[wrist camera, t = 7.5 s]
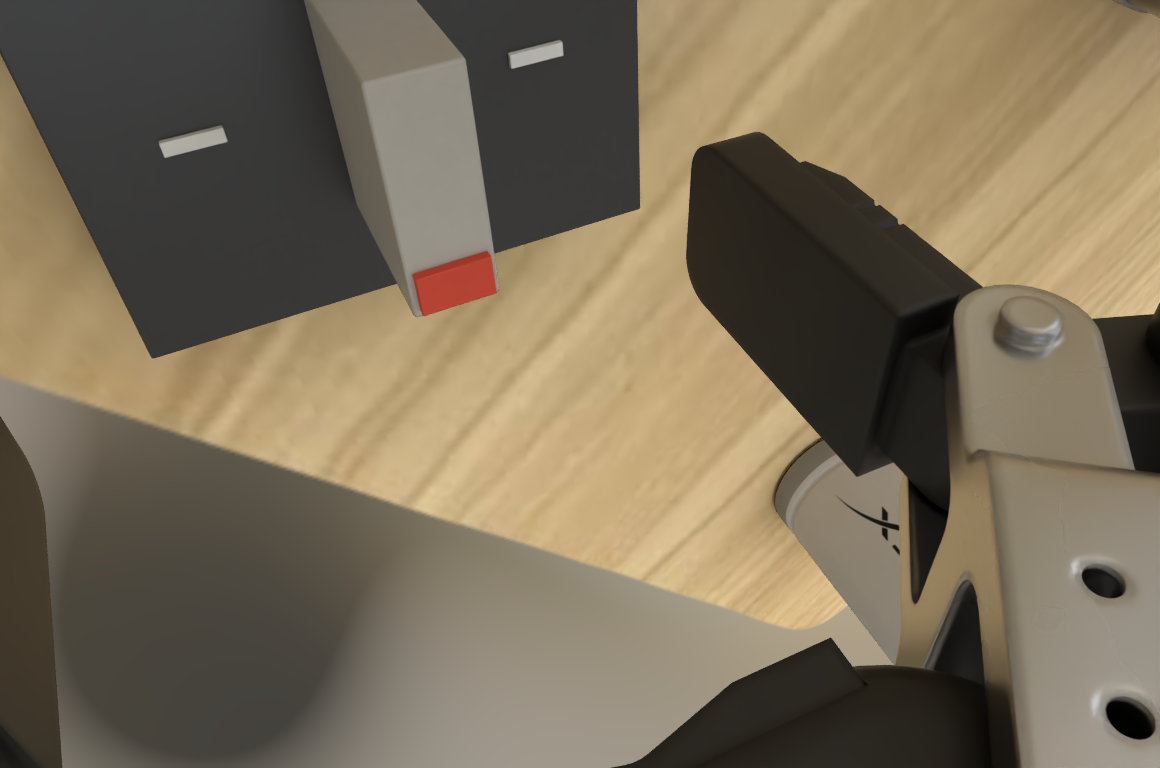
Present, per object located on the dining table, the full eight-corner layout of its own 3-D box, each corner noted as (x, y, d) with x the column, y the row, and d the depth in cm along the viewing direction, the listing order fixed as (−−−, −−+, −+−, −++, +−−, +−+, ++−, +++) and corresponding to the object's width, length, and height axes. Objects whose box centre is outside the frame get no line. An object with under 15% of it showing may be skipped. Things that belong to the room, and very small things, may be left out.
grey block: (300, -13, 21) (364, 89, 17) (390, -33, 21) (470, 62, 18) (356, 205, 24) (418, 326, 21) (432, 184, 25) (504, 297, 21)
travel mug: (857, 505, 51) (1161, 863, 38) (756, 528, 49) (1047, 923, 35) (903, 417, 48) (1259, 778, 34) (797, 436, 45) (1141, 839, 31)
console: (577, -249, 23) (637, -223, 21) (597, 161, 30) (643, 212, 28) (-68, -140, 19) (-75, -94, 17) (139, 294, 27) (152, 364, 25)
